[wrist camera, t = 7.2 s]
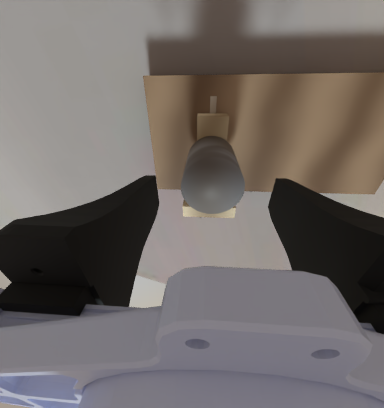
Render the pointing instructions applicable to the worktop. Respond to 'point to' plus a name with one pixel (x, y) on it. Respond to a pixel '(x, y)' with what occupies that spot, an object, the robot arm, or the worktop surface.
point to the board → (276, 127)
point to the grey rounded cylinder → (211, 171)
